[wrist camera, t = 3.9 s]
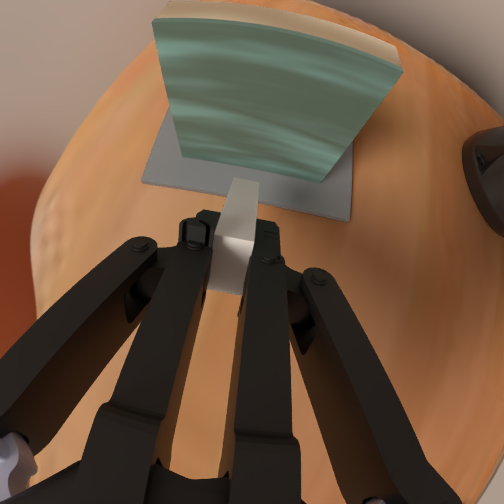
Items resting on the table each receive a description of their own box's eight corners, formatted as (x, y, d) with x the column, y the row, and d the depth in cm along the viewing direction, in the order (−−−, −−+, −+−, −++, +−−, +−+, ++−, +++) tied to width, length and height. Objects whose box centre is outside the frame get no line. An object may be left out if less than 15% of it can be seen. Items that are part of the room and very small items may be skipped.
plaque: (189, 134, 23) (169, 1, 10) (321, 160, 24) (395, 46, 10) (182, 157, 23) (151, 22, 9) (320, 183, 23) (403, 72, 10)
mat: (206, 34, 27) (206, 31, 26) (347, 62, 28) (349, 59, 27) (142, 183, 23) (140, 180, 22) (347, 222, 24) (349, 220, 23)
